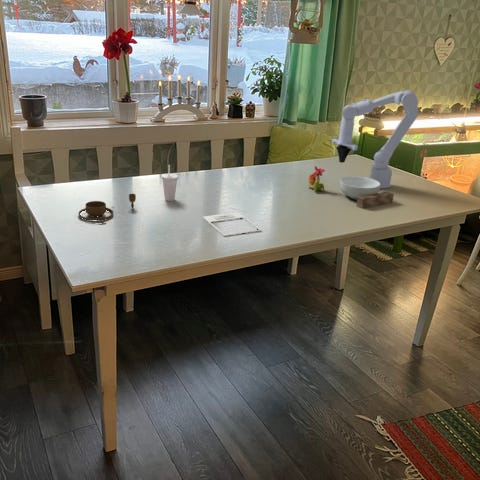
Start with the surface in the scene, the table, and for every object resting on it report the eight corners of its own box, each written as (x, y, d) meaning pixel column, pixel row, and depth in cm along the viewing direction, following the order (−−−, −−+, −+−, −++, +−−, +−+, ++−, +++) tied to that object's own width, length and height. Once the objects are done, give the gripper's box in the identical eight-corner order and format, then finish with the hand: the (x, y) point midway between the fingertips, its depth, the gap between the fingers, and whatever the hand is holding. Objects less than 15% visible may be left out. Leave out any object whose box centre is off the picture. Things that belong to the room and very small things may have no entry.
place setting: (81, 208, 187) (80, 193, 184) (136, 207, 191) (136, 193, 188) (76, 226, 171) (75, 210, 169) (137, 225, 175) (136, 209, 173)
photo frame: (238, 211, 190) (261, 229, 176) (237, 214, 191) (261, 232, 176) (202, 216, 184) (223, 234, 169) (202, 218, 184) (223, 237, 170)
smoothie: (158, 199, 198) (158, 165, 193) (167, 195, 204) (168, 161, 198) (171, 203, 196) (172, 168, 190) (181, 199, 201) (181, 164, 195)
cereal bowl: (346, 188, 228) (349, 173, 226) (382, 196, 221) (385, 181, 218) (332, 197, 215) (334, 181, 212) (369, 206, 207) (372, 190, 204)
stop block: (386, 200, 216) (388, 191, 215) (392, 202, 214) (394, 193, 212) (356, 205, 207) (357, 196, 206) (361, 208, 205) (363, 198, 203)
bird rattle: (304, 193, 224) (317, 191, 217) (300, 168, 224) (313, 165, 216) (315, 192, 228) (328, 189, 220) (311, 167, 227) (324, 164, 219)
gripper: (328, 129, 231) (324, 159, 237) (351, 136, 221) (346, 167, 226) (339, 129, 235) (335, 157, 241) (362, 135, 224) (357, 165, 230)
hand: (341, 162), depth 234 cm, fingers closed
